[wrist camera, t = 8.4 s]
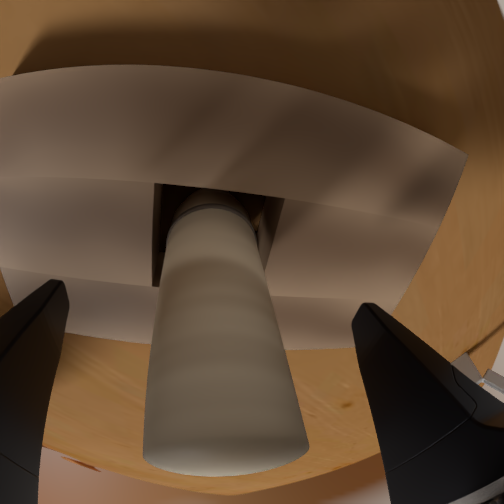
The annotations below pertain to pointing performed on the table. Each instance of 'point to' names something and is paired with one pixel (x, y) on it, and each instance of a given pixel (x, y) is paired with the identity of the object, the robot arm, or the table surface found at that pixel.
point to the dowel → (218, 351)
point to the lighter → (471, 372)
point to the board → (215, 177)
